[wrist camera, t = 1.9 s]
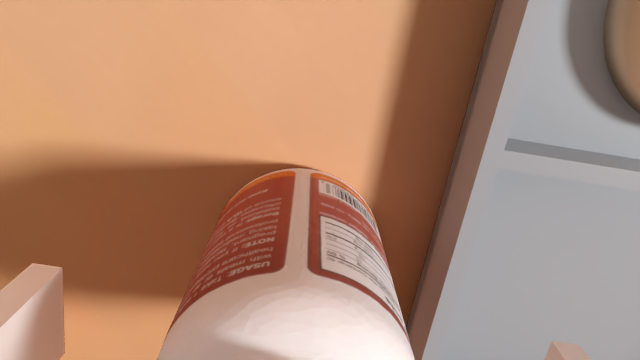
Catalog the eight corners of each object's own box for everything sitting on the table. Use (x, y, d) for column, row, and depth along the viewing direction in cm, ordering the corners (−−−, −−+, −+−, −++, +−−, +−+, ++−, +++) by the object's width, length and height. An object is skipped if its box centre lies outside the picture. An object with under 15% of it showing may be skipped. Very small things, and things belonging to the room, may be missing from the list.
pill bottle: (220, 302, 19) (102, 654, 9) (216, 159, 17) (54, 400, 7) (372, 309, 19) (432, 664, 9) (387, 167, 17) (490, 418, 7)
